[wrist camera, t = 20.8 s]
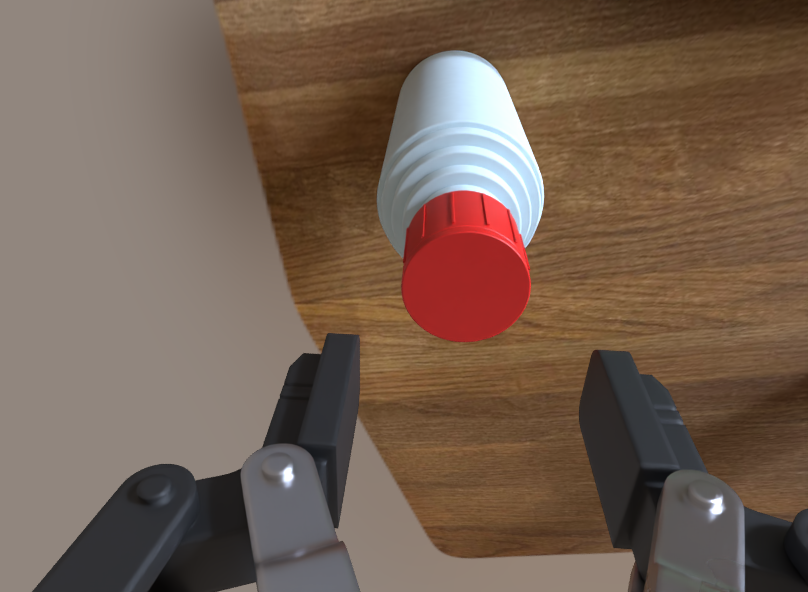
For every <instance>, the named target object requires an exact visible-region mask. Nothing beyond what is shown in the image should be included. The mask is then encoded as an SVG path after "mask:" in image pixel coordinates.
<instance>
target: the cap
mask: <svg viewBox="0 0 808 592" xmlns="http://www.w3.org/2000/svg"><path fill="white" fill-rule="evenodd" d="M403 263H404V266H403V275H402V284H401V290H402V298H403V302H404V304H405V307H406V309H407V311H408V313H409V314H410V316H411V317H412V319H413V320H414V321H415V322H416V323H417V324H418V325H419V326H420V327H421V328H423V329H424V330H426V331H427V332H429V333H430V334H432V335H434V336H436V337H439V338H442V339H445V340H449V341H455V342H474V341H480V340H484V339H487V338H491V337H493V336H495V335H497V334H499V333H501V332H503V331H504V330H506V329H507V328H509V327H510V326H511V325H512V324H513V323H514V322H515V321H516V320H517V319H518V318H519V317H520V315H521V314H522V312H523V311H524V309H525V307H526V305H527V302H528V300H529V296H530V289H531V282H530V275H529V270H530V267H529V263H528V259H527V255H526V251H525V247H524V243H523V240H522V236H521V234H519V231H518V227H517V224H516V222H515V219H514V218H513V216H512V214H511V213H510V210H509V209H507V208H506V207H505V206H504V205H503V204H502V203H500V202H499V201H498V200H496V199H495V198H493V197H491V196H489V195H486V194H485V193H480V192H476V191H469V190H459V191H452V192H448V193H444V194H442V195H439V196H437V197H435V198H433V199H431V200H430V201H429V202H427V203H426V204H424V205H423V206H422V207H421V208H420V209H419V211H418V212H417V213H416V214H415V216H414V217H413V219H412V221H411V223H410V225H409V228H408V227H407V229H406V238H405V248H404V257H403Z"/></svg>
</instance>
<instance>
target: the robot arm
mask: <svg viewBox="0 0 808 592" xmlns="http://www.w3.org/2000/svg"><path fill="white" fill-rule="evenodd" d="M359 394H360V338H359V335H352V334H335V333H328V334H327V336H326V340H325V343H324V347H323V350H322V354H309V353H304V354H302V355H301V356H300V357H299V358H298V359H297V360H296V361H295V362H294V363H293V364H292V365H291V366H290V367H289V370H288V373H287V376H286V379H285V383H284V386H283V388H282V391H281V394H280V399H279V400H278V403H277V406H276V409H275V412H274V414H273V417H272V420H271V423H270V426H269V429H268V432H267V435H266V438H265V441H264V444H263V447H262V448H261V449H259V450H257V451H256V452H254V453H253V454H252V455H251V456H250V457H249V458H248V459H247V460H246V461H245V463H244V464H243V467H242V468H241V469H239V470H237V471H235V472H232V473H230V474H225V475H222V476H216V477H211V478H206V479H201V480H196V481H195V479H194V476H193V475H192V473H191V472H190V471H188V470H187V469H186V468H184V467H182V466H179V465H174V464H159V465H154V466H150V467H147V468H144V469H142V470H140V471H138V472H136V473H135V474H133V475H132V476H130V477H129V478H128V479H127V480H126V481H125V482H124V483H123V484H122V485H121V486H120V487H119V488H118V490H117V491H116V492H115V493H114V494H113V496H112V497H111V498H110V499H109V500H108V502H107V503H106V504H105V505H104V506H103V508H102V509H101V510H100V511H99V512H98V514H97V515H96V516H95V517H94V518H93V520H92V521H91V522H90V523H89V524H88V526H87V527H86V528H85V529H84V530H83V532H82V533H81V534H80V535H79V536H78V537H77V539H76V540H75V541H74V542H73V544H72V545H71V546H70V547H69V548H68V549H67V551H66V552H65V553H64V554H63V555H62V557H61V558H60V559H59V560H58V561H57V563H56V564H55V565H54V566H53V568H52V569H51V570H50V571H49V572H48V573H47V575H46V576H45V577H44V578H43V580H42V581H41V582H40V583H39V584H38V585H37V587H36V588H35V589H34V590H33V591H32V592H217V591H221V590H225V589H230V588H234V587H238V586H242V585H246V584H250V583H254V582H256V585H257V591H258V592H360V589H359V586H358V583H357V579H356V576H355V573H354V570H353V567H352V563H351V560H350V557H349V554H348V551H347V548H346V546H345V544H344V542H343V541H340V542H339V541H338V539H337V535H336V532H335V529H334V528H338V526H339V520H340V515H341V508H342V503H343V497H344V491H345V485H346V479H347V473H348V467H349V461H350V455H351V449H352V444H353V438H354V431H355V426H356V420H357V414H358V406H359ZM579 422H580V428H581V432H582V435H583V439H584V443H585V446H586V450H587V454H588V457H589V461H590V465H591V468H592V472H593V475H594V479H595V483H596V486H597V490H598V494H599V497H600V501H601V504H602V508H603V512H604V515H605V519H606V523H607V526H608V530H609V534H610V537H611V541H612V544H613V548H621V549H632V551H633V554H634V557H635V560H636V561H635V563H634V566H633V569H632V572H631V576H630V582H629V588H628V592H808V509H805V510H803V511H801V512H799V513H798V514H797V516H796V517H795V519H794V521H793V523H792V522H789V521H786V520H782V519H779V518H776V517H773V516H769V515H766V514H763V513H760V512H757V511H754V510H751V509H749V508H747V507H744V506H743V504H742V501H741V499H740V498H739V496H738V495H737V494H736V492H735V491H734V490H733V489H732V488H731V487H730V486H729V485H727V484H726V483H725V482H723V481H722V480H720V479H719V478H717V477H715V476H713V475H710V474H708V472H707V470H706V468H705V466H704V463H703V461H702V459H701V457H700V455H699V453H698V451H697V449H696V447H695V445H694V443H693V441H692V439H691V437H690V435H689V432H688V430H687V428H686V426H685V425H683V420H682V418H681V416H680V414H679V412H678V411H676V406H675V404H674V401H673V399H672V397H671V395H670V393H669V391H668V390H667V389H666V388H665V387H664V386H663V385H662V384H661V383H660V382H659V381H658V380H657V379H655V378H654V377H653V376H652V375H644V374H639V372H638V370H637V367H636V365H635V363H634V360H633V358H632V356H631V354H630V353H629V352H626V351H609V350H594V351H593V353H592V355H591V359H590V363H589V367H588V371H587V375H586V379H585V383H584V387H583V391H582V396H581V400H580V406H579Z"/></svg>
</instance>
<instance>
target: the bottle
mask: <svg viewBox="0 0 808 592" xmlns="http://www.w3.org/2000/svg"><path fill="white" fill-rule="evenodd" d="M459 190H469V191H476V192H480V193H485V194H486V195H489V196H491V197H493V198H495V199H496V200H498V201H499V202H500V203H502V204H503V205H504V206H505V207H506V208H507V209H509V210H510V213H511V214H512V216H513V218H514V219H515V222H516V224H517V227H518V231H519V234H521V236H522V240H523V243H524V247H525V248H526V246H527V245H528V243H529V242H530V240H531V238H532V237H533V235H534V233H535V230H536V228H537V225H538V222H539V220H540V217H541V213H542V209H543V201H544V189H543V182H542V177H541V174H540V171H539V168H538V165H537V163H536V160H535V158H534V155H533V153H532V150H531V148H530V145H529V143H528V140H527V138H526V135H525V133H524V130H523V128H522V125H521V123H520V120H519V118H518V115H517V113H516V110H515V108H514V105H513V103H512V100H511V98H510V95H509V93H508V90H507V88H506V85H505V83H504V81H503V79H502V77H501V75H500V74H499V72H498V71H497V70H496V69H495V68H494V67H493V65H492V64H490V63H489V62H488V61H487V60H485V59H483V58H482V57H480V56H478V55H476V54H473V53H470V52H466V51H459V50H452V51H444V52H440V53H437V54H434V55H432V56H430V57H428V58H426V59H425V60H423V61H421V62H420V63H419V64H418V65H417V66H416V67H415V68H414V69H413V70H412V71H411V72H410V73H409V75H408V76H407V78H406V80H405V81H404V83H403V85H402V88H401V91H400V95H399V99H398V103H397V107H396V112H395V116H394V120H393V125H392V129H391V133H390V137H389V142H388V146H387V150H386V154H385V159H384V163H383V167H382V171H381V176H380V180H379V184H378V190H377V209H378V214H379V219H380V222H381V225H382V227H383V229H384V231H385V233H386V235H387V237H388V239H389V241H390V243H391V244H392V246H393V247H394V249H395V250H396V251H397V252H398V253H399V255H400V256H401V257H402V258H403V257H404V248H405V238H406V229H407V227H408V228H409V225H410V223H411V221H412V219H413V217H414V216H415V214H416V213H417V212H418V211H419V209H420V208H421V207H422V206H423V205H424V204H426V203H427V202H429V201H430V200H431V199H433V198H435V197H437V196H439V195H442V194H444V193H448V192H452V191H459Z"/></svg>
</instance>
